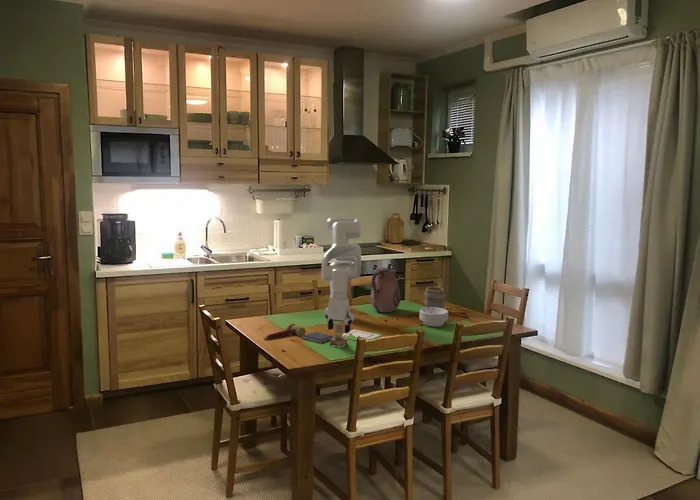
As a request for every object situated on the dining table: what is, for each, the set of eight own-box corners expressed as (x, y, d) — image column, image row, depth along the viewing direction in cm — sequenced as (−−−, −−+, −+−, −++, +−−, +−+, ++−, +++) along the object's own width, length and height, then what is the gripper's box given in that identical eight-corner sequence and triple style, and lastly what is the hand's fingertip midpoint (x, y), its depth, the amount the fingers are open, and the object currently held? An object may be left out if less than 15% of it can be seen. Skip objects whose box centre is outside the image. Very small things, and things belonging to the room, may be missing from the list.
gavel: (268, 336, 267) (258, 331, 274) (269, 345, 268) (258, 340, 275) (305, 326, 280) (294, 322, 287) (305, 335, 281) (294, 330, 288)
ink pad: (301, 338, 274) (301, 335, 274) (314, 334, 282) (315, 331, 282) (321, 343, 267) (321, 340, 267) (334, 338, 275) (334, 335, 275)
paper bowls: (440, 330, 294) (441, 315, 292) (414, 325, 302) (414, 310, 301) (452, 323, 306) (452, 309, 305) (426, 319, 314) (426, 305, 313)
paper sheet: (336, 336, 279) (336, 335, 279) (354, 329, 291) (354, 329, 291) (363, 342, 270) (363, 341, 270) (380, 335, 282) (380, 334, 282)
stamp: (329, 345, 264) (329, 324, 263) (337, 342, 269) (337, 322, 268) (340, 348, 261) (340, 327, 260) (347, 344, 266) (348, 324, 264)
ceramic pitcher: (404, 309, 335) (406, 268, 331) (388, 317, 317) (390, 273, 313) (378, 305, 344) (379, 265, 340) (361, 313, 326) (362, 270, 322)
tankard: (440, 315, 323) (441, 289, 321) (419, 312, 329) (420, 287, 327) (452, 308, 340) (453, 284, 338) (432, 305, 347) (433, 281, 344)
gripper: (319, 293, 264) (319, 329, 266) (349, 298, 254) (349, 335, 256) (329, 291, 270) (329, 326, 272) (359, 296, 260) (358, 332, 262)
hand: (338, 331), depth 264 cm, fingers open, 9 cm apart
